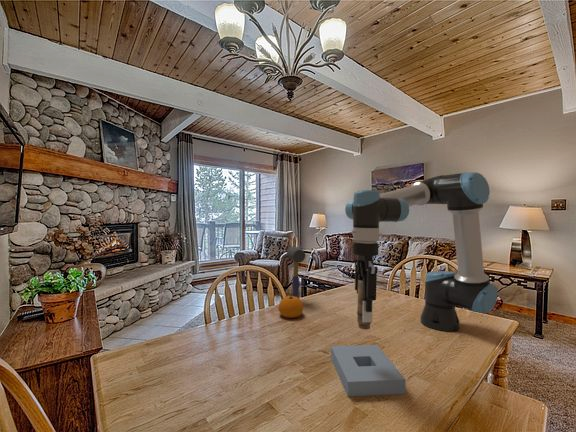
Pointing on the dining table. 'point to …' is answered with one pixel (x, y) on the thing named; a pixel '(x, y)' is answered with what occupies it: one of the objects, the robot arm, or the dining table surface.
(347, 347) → the seat board
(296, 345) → the dining table surface
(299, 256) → the rubber mallet
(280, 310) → the fruit
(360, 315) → the peg
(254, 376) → the dining table surface
